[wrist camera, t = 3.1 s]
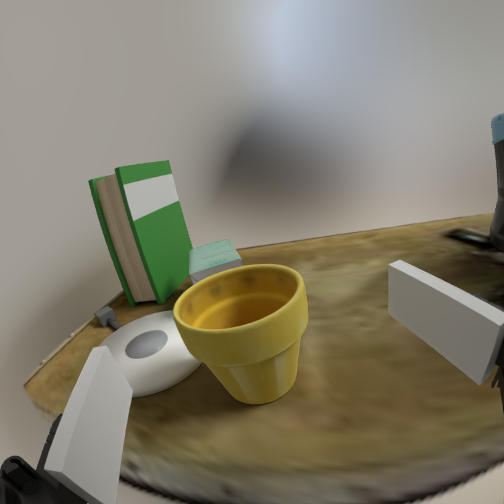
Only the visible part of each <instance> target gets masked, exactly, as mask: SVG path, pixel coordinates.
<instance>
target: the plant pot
mask: <svg viewBox="0 0 504 504" xmlns="http://www.w3.org/2000/svg"><path fill="white" fill-rule="evenodd" d="M173 319H174V322H175V324H176V327H177V329H178V332H179V334H180V336H181V338H182V340H183V342H184V344H185V346H186V348H187V350H188V351H189V353H190V354H191V355H192V356H193V357H194V358H196V359H197V360H199V361H201V362H202V363H205V364H206V365H207V366H208V367H209V369H210V370H211V371H212V372H213V374H214V375H215V376H216V377H217V379H218V380H219V381H220V382H221V383H222V385H223V386H224V387H225V388H226V389H227V391H228V392H229V393H230V394H231V395H232V396H233V397H234V398H235V399H237V400H238V401H240V402H243V403H247V404H264V403H269V402H272V401H275V400H277V399H279V398H280V397H282V396H283V395H284V394H286V393H287V392H288V391H289V390H290V388H291V387H292V385H293V384H294V382H295V379H296V373H297V363H298V354H299V346H300V337H301V335H302V334H303V332H304V331H305V329H306V326H307V323H308V307H307V298H306V292H305V286H304V281H303V279H302V277H301V276H300V274H299V273H298V272H296V271H295V270H293V269H291V268H289V267H286V266H282V265H274V264H256V265H248V266H241V267H237V268H233V269H229V270H225V271H222V272H219V273H217V274H214V275H212V276H209V277H207V278H205V279H203V280H201V281H199V282H198V283H196V284H194V285H193V286H191V287H190V288H189V289H187V290H186V291H185V292H184V293H183V294H182V295H181V296H180V297H179V298H178V300H177V301H176V303H175V305H174V308H173Z"/></svg>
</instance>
